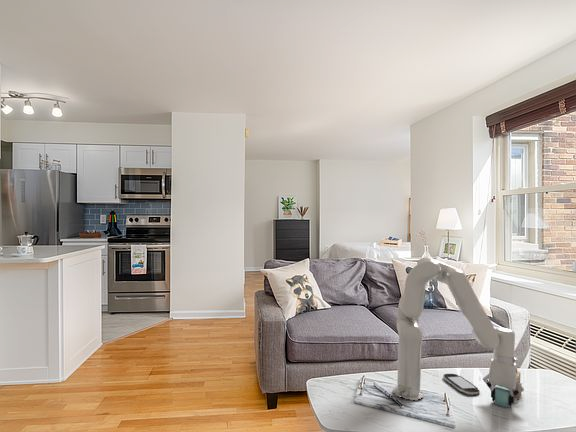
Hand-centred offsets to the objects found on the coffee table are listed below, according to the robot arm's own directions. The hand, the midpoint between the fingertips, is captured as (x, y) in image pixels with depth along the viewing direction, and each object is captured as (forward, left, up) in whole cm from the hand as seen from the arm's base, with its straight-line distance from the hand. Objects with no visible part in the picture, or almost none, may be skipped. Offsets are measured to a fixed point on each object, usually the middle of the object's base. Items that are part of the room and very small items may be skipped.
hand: (502, 401), depth 156 cm
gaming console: (+7, +18, -2) cm, 19 cm away
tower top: (+13, -1, +4) cm, 14 cm away
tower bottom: (+13, -1, -1) cm, 13 cm away
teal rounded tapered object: (0, 0, -1) cm, 1 cm away
